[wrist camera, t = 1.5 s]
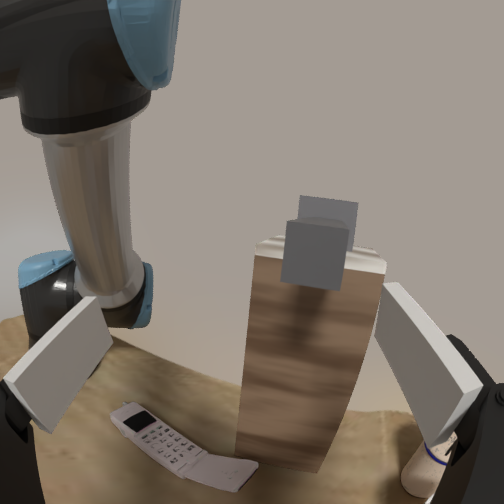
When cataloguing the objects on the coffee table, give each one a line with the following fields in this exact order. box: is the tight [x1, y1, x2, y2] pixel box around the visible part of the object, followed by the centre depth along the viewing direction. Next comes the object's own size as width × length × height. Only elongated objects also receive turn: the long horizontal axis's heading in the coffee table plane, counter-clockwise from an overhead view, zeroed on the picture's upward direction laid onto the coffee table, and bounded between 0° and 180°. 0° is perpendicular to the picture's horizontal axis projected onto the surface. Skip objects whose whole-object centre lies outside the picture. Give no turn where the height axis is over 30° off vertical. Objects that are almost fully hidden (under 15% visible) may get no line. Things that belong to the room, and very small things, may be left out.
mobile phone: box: [110, 402, 258, 492], centre depth 28 cm, size 6×6×25 cm
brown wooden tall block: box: [234, 235, 387, 473], centre depth 31 cm, size 10×12×30 cm
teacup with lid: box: [401, 432, 457, 498], centre depth 22 cm, size 12×9×12 cm
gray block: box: [280, 195, 358, 291], centre depth 23 cm, size 21×6×5 cm, turn 163°
